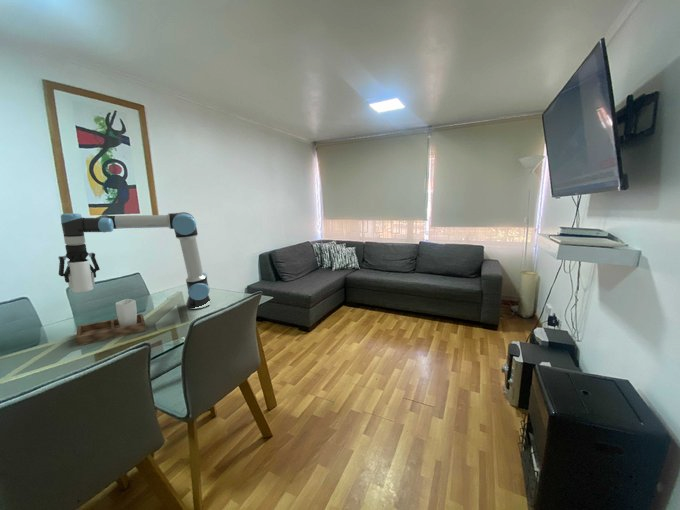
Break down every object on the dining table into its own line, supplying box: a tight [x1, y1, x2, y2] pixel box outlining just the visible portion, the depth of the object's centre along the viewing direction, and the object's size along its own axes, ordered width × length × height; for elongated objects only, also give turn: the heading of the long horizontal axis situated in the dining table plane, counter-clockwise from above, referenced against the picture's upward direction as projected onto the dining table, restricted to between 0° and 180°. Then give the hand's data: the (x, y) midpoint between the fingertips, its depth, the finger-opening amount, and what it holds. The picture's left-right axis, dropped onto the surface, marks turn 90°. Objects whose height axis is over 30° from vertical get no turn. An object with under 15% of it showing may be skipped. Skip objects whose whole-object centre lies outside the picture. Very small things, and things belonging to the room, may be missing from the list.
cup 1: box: [66, 258, 94, 294], centre depth 141 cm, size 8×8×16 cm
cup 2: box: [114, 298, 138, 327], centre depth 149 cm, size 7×7×15 cm
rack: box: [75, 313, 147, 347], centre depth 145 cm, size 28×14×4 cm, turn 131°
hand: (82, 285), depth 142 cm, fingers closed on cup 1, 8 cm apart
